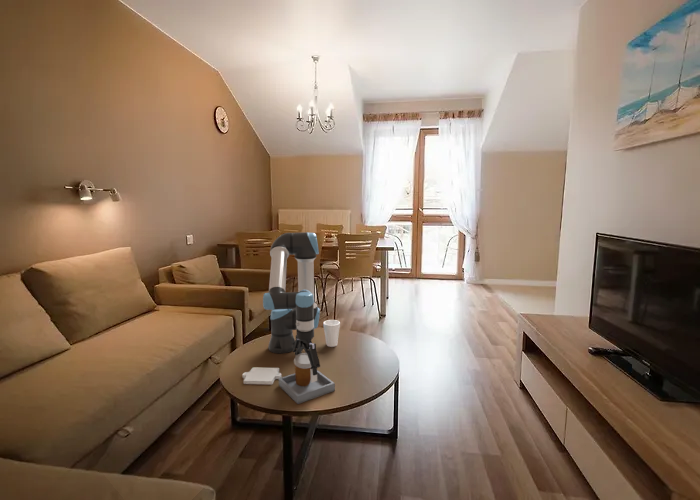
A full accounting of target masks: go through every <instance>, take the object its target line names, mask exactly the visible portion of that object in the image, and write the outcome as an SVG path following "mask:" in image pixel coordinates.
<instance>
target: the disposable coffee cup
mask: <svg viewBox="0 0 700 500" xmlns="http://www.w3.org/2000/svg"><path fill="white" fill-rule="evenodd" d="M293 364H294V374H295V376H296V384H297V385H299V386H307V385H309V383H310V380H311V369H310V367H311V364H310V361H309V358H308V355H307V353H305V352H302V353H301V354H298V355H295V356H294V358H293Z"/></svg>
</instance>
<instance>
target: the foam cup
mask: <svg viewBox="0 0 700 500" xmlns="http://www.w3.org/2000/svg"><path fill="white" fill-rule="evenodd" d="M322 326H323V331H324V339H325V344H326V346H327V347H329V348H330V347H331V348H333V347H334V348H335V347H337V346H338V342H339V334H340V328H341V322H340V320H338V319H337V320H336V319H328V320H324V321H323V325H322Z"/></svg>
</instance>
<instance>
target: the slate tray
mask: <svg viewBox="0 0 700 500" xmlns="http://www.w3.org/2000/svg"><path fill="white" fill-rule="evenodd" d="M278 387H279V388H280V389H281V390H282V391H284V393H286V395H288V396H289V397H290V398H291V400H293V401H294V403H296V404H297V405H300V404H302V403H305V402H308V401H310V400H313V399H316V398H319V397H321V396H324V395H327V394H330V393H332V392H335V389H336V383H335V382H334V381H332V380H331V379H330V378H329V377H327V376H326V375H325V374H324V373H322V372H321V371H319V370H318V369H317V381H315V382H312V383H311V380H310V383H309V385H307V386H299V385H297V384H296V376H295V373H292V374H289V375H286V376H281V378H279V379H278Z"/></svg>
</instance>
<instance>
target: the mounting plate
mask: <svg viewBox="0 0 700 500" xmlns="http://www.w3.org/2000/svg"><path fill="white" fill-rule="evenodd" d="M279 378H282V373H281V372H280V368H279V367H257V366H256V367H252V368H251V369H250V370H249V371H244V372H243V373H242V379H243V384H244V385H273V384H274V382H275V380H279Z"/></svg>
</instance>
